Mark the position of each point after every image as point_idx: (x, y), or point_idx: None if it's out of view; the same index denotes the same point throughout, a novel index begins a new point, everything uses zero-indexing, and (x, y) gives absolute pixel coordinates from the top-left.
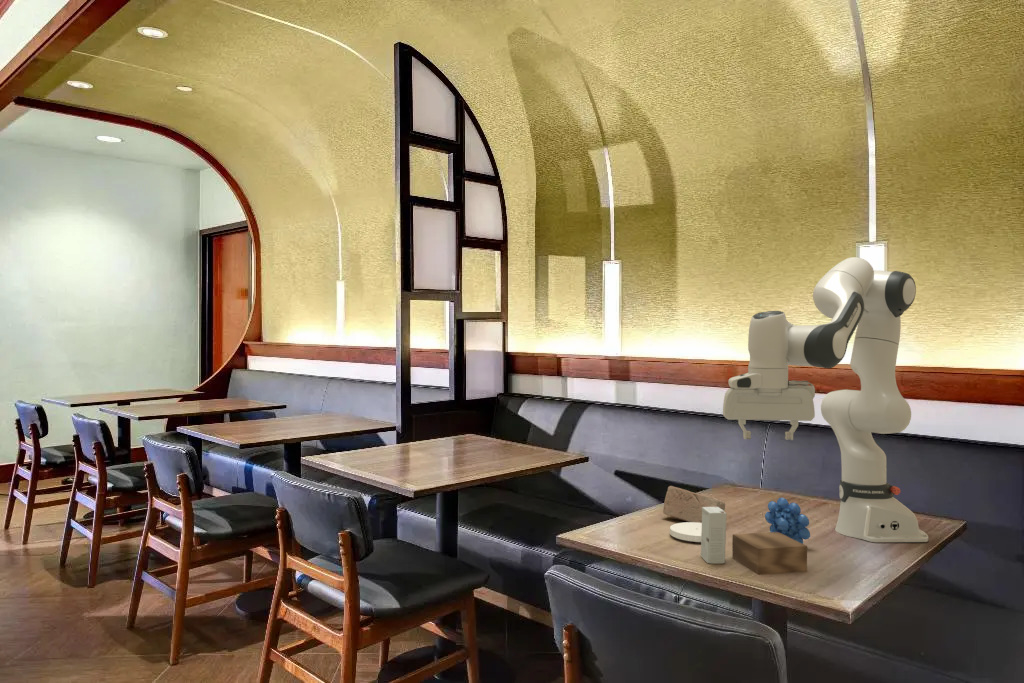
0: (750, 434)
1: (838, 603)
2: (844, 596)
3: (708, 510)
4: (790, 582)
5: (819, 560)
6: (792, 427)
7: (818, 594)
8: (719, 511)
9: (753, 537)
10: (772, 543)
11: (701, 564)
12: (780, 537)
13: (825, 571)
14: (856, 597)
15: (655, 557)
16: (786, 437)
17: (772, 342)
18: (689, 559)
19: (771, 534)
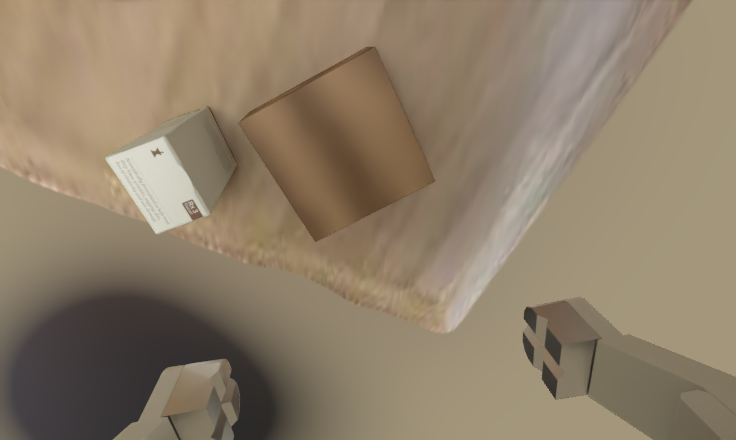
0: (230, 438)
1: (442, 316)
2: (459, 284)
3: (142, 206)
4: (377, 244)
5: (464, 63)
6: (651, 410)
7: (418, 289)
8: (183, 208)
9: (300, 139)
10: (351, 184)
11: None
12: (376, 115)
13: (459, 152)
14: (478, 282)
15: (56, 167)
16: (532, 358)
17: None
18: None
19: (352, 87)
